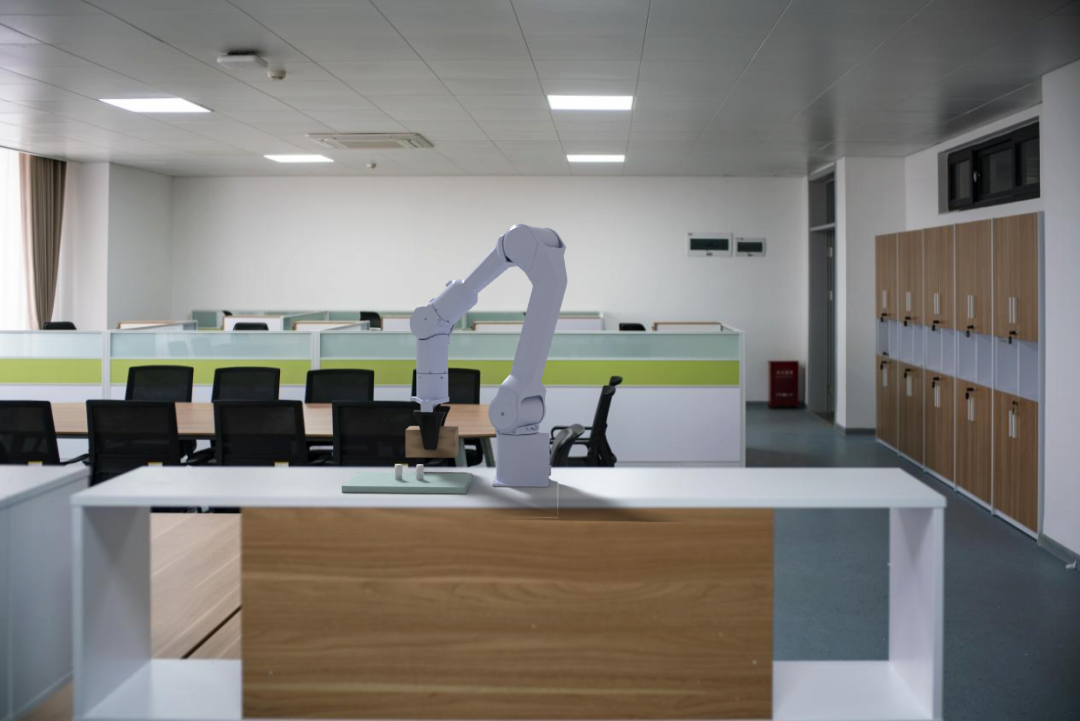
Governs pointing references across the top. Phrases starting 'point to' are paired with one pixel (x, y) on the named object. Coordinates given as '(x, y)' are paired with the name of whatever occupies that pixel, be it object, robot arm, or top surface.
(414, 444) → the box
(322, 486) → the top surface
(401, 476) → the pin board
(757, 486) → the top surface
